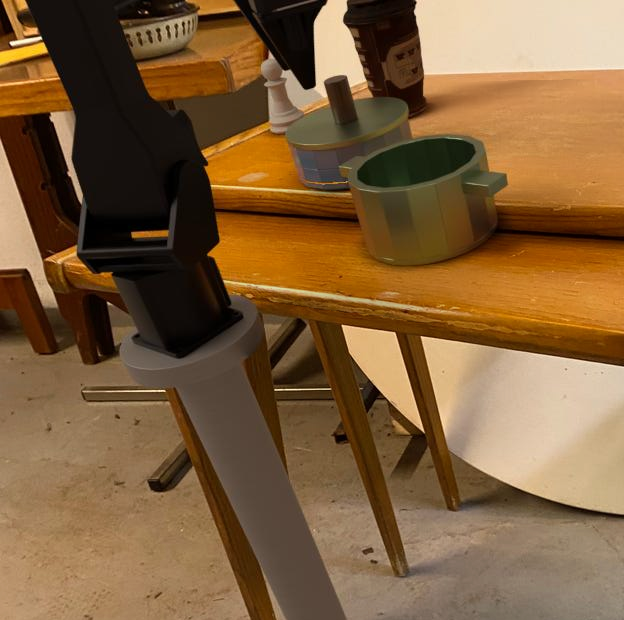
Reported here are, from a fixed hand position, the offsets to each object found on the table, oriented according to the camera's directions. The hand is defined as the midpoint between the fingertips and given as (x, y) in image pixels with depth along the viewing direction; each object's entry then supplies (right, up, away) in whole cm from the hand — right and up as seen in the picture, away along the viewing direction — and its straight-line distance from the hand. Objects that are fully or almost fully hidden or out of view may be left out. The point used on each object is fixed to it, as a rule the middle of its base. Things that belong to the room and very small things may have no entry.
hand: (299, 78), depth 83 cm
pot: (+12, -15, -4) cm, 20 cm away
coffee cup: (+8, +7, +25) cm, 27 cm away
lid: (+3, -1, +10) cm, 10 cm away
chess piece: (-7, +6, +28) cm, 30 cm away
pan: (+4, -4, +13) cm, 14 cm away
